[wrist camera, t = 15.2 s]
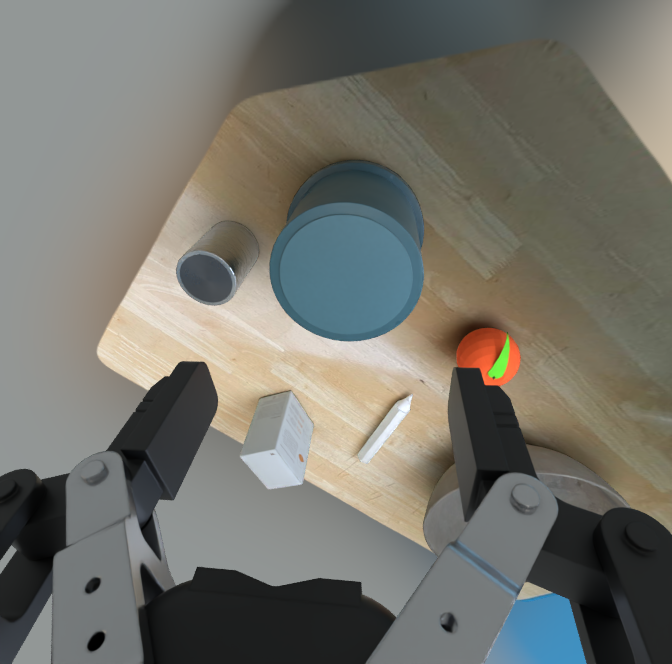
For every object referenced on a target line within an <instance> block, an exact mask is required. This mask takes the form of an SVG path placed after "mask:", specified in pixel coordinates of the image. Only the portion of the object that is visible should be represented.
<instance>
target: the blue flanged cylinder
mask: <svg viewBox="0 0 672 664" xmlns="http://www.w3.org/2000/svg"><path fill="white" fill-rule="evenodd" d="M423 236H424V223H423V217H422V212H421V208H420V205H419V202H418V200H417V198H416V196H415V194H414V192H413V191H412V189H411V188H410V186H409V185H408V184H407V183H406V182H405V181H404V180H403V179H402V178H401V177H400V176H399V175H397V174H396V173H395V172H393V171H392V170H390V169H388V168H386V167H384V166H382V165H380V164H377V163H373V162H370V161H363V160H347V161H340V162H337V163H333V164H330V165H328V166H326V167H324V168H322V169H320V170H319V171H317V172H315V173H314V174H313V175H312V176H310V177H309V178H308V179H307V180H306V181H305V182H304V184H303V185H302V186H301V187H300V189H299V190H298V192H297V193H296V195H295V196H294V198H293V201H292V203H291V205H290V208H289V211H288V216H287V222H286V225H285V226H284V228H283V230H282V231H281V233H280V234H279V236H278V238H277V240H276V242H275V244H274V246H273V250H272V253H271V258H270V280H271V284H272V288H273V291H274V293H275V296H276V298H277V300H278V301H279V303H280V305H281V306H282V308H283V309H284V310H285V312H286V313H287V314H288V315H289V316H290V317H291V318H292V319H293V320H294V321H295V322H296V323H298V324H299V325H300V326H302V327H303V328H305V329H306V330H308V331H310V332H312V333H314V334H316V335H319V336H322V337H325V338H328V339H332V340H339V341H361V340H367V339H371V338H375V337H378V336H380V335H383V334H385V333H387V332H389V331H390V330H392V329H394V328H395V327H397V326H398V325H399V324H400V323H402V322H403V321H404V320H405V319H406V318H407V317H408V315H409V314H410V313H411V312H412V310H413V309H414V307H415V305H416V304H417V302H418V299H419V297H420V295H421V291H422V287H423V280H424V268H423V261H422V255H421V247H422V243H423Z"/></svg>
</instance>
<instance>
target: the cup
mask: <svg viewBox="0 0 672 664" xmlns="http://www.w3.org/2000/svg"><path fill="white" fill-rule="evenodd" d="M258 254H259V247H258V243H257V241H256V238H255V237H254V235H253V234H252V233H251V231H250V230H249V229H247V228H246V227H245V226H243V225H241V224H239V223H237V222H233V221H223V222H219V223H217V224H216V225H214V226H213V227H212V228H211V229H210V230H209V231H208V232H207V233H206V234H205V235H204V236H203V237H202V238H201V239H200V240H199V241H197V242H196V243H195V244H194V245H193V246H192V247H191V248H190V249H189V250H188V251H187V252H186V253H185V254H184V255H183V256H182V257H181V258H180V259H179V261H178V264H177V268H176V274H177V279H178V281H179V284H180V285H181V287H182V289H183V290H184V291H185V292H186V293H187V294H188V295H189V296H190V297H191V298H193V299H194V300H196V301H198V302H200V303H203V304H207V305H221V304H224V303H226V302H228V301H229V300H231V299H232V297H233V296H234V294H235V293H236V291H237V290H238V288H239V287H240V285H241V284H242V282H243V281H244V279H245V278H246V276H247V274H248V273H249V271H250V270H251V268H252V267H253V265H254V264H255V262H256V261H257V258H258Z"/></svg>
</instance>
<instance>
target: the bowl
mask: <svg viewBox="0 0 672 664" xmlns="http://www.w3.org/2000/svg"><path fill="white" fill-rule="evenodd" d="M526 446H527V449H528V452H529V455H530V458H531V460H532V463H533V466H534V469H535V472H536V474H537V477H538V478H539V480H540V481H541V482H542V483H544V484H545V485H546V486H547V487H548V488H549V489H550V490H551V492H552V493H553V494H554V496H556V497H557V498H559V499H560V500H562V501H564V502H566V503H568V504H571V505H573V506H576V507H579V508H582V509H585V510H588V511H591V512H594V513H597V514H600V515H604V514H605V513H606V512H607V511H608V510H610V509H613V508H618V507H625V508H631V507H630V506H629V505H628V503H627V502H626V501H625V500H624V499H623V497H622V496H621V495H620V494H619V493H618V492H616V491H615V490H614V489H613V488H612V487H611V486H610V485H609V484H608V483H607V482H605V481H604V480H603V479H602V478H601V477H599V476H598V475H597V474H596V473H594V472H593V471H591V470H590V469H589V468H587V467H586V466H584V465H583V464H581V463H579V462H578V461H576V460H574V459H572V458H570V457H568V456H566V455H564V454H562V453H559V452H557V451H553V450H550V449H547V448H544V447H539V446H533V445H528V444H526ZM467 523H468V522H464V515H463V509H462V503H461V497H460V490H459V484H458V478H457V472H456V466H455V463H454V464H453V465H452V466H451V467H450V468H449V469H448V470H447V471H446V472H445V473H444V474H443V475H442V476H441V478H440V479H439V481H438V482H437V484H436V486H435V488H434V490H433V492H432V495H431V497H430V500H429V503H428V506H427V510H426V513H425V517H424V521H423V531H424V536H425V540H426V542H427V544H428V546H429V547H430V549H431V550H432V551H433V552H434V553H435V554H436V555H437V556H439V555H440V553H441V552H442V551H443V549H444V548H445V547H446V546H447V544H448V543H450V542H451V541H453V542H454V541H455V540H456V539H457V538H458V536H459V535H460V534H461V532H462V531H463V529H464V528H465V526H466V525H467ZM525 582H527V581H525Z"/></svg>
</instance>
